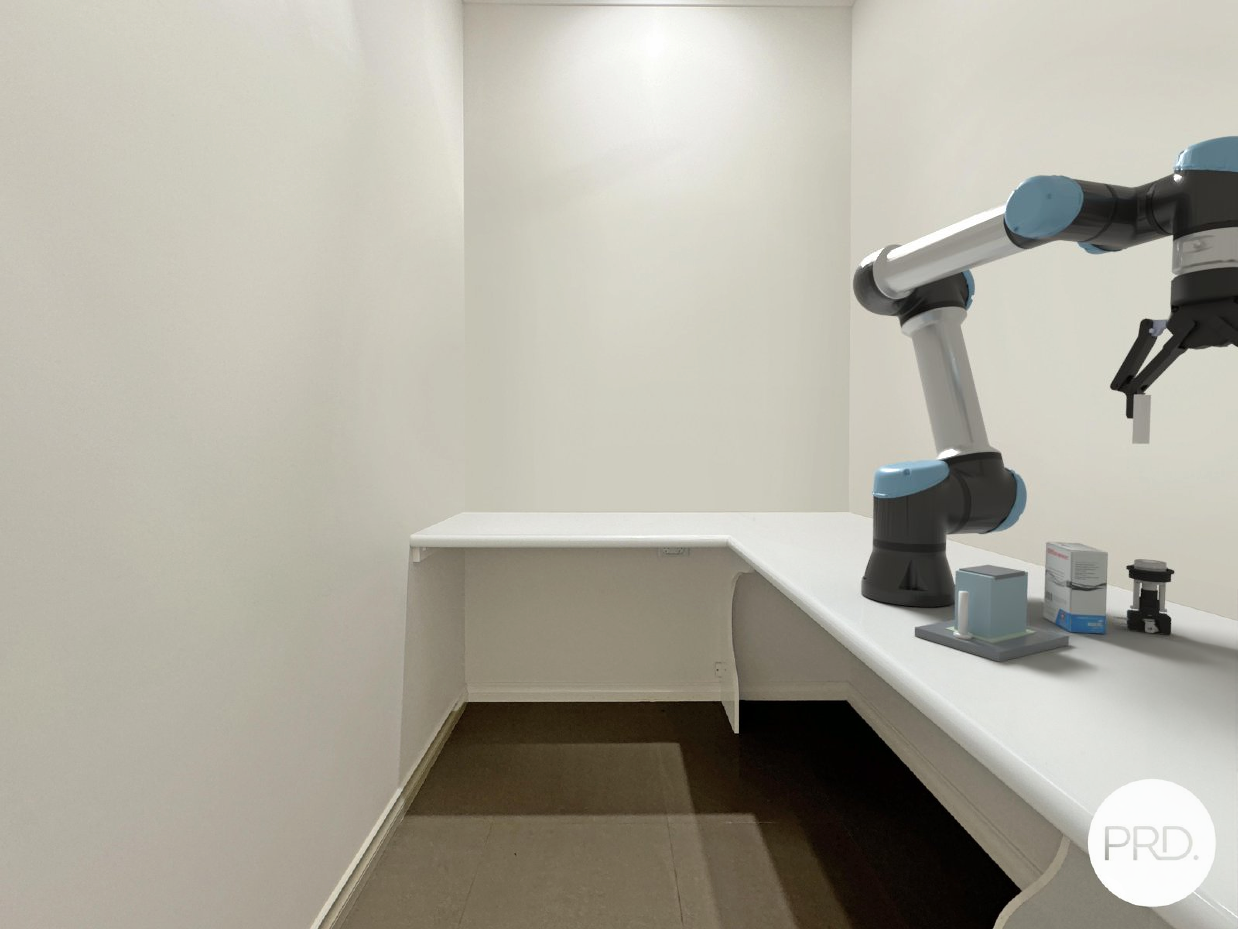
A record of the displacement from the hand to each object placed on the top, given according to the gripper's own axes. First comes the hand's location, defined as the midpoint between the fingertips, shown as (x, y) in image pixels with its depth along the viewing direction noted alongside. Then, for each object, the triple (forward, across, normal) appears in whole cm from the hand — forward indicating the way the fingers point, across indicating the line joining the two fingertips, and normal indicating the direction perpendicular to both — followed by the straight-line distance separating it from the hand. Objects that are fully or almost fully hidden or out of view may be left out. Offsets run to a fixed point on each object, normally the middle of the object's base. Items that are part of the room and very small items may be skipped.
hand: (1204, 444), depth 82 cm
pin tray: (+27, -16, -17) cm, 35 cm away
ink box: (+27, -15, +1) cm, 31 cm away
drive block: (+25, -16, -17) cm, 34 cm away
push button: (+27, -9, +7) cm, 29 cm away
